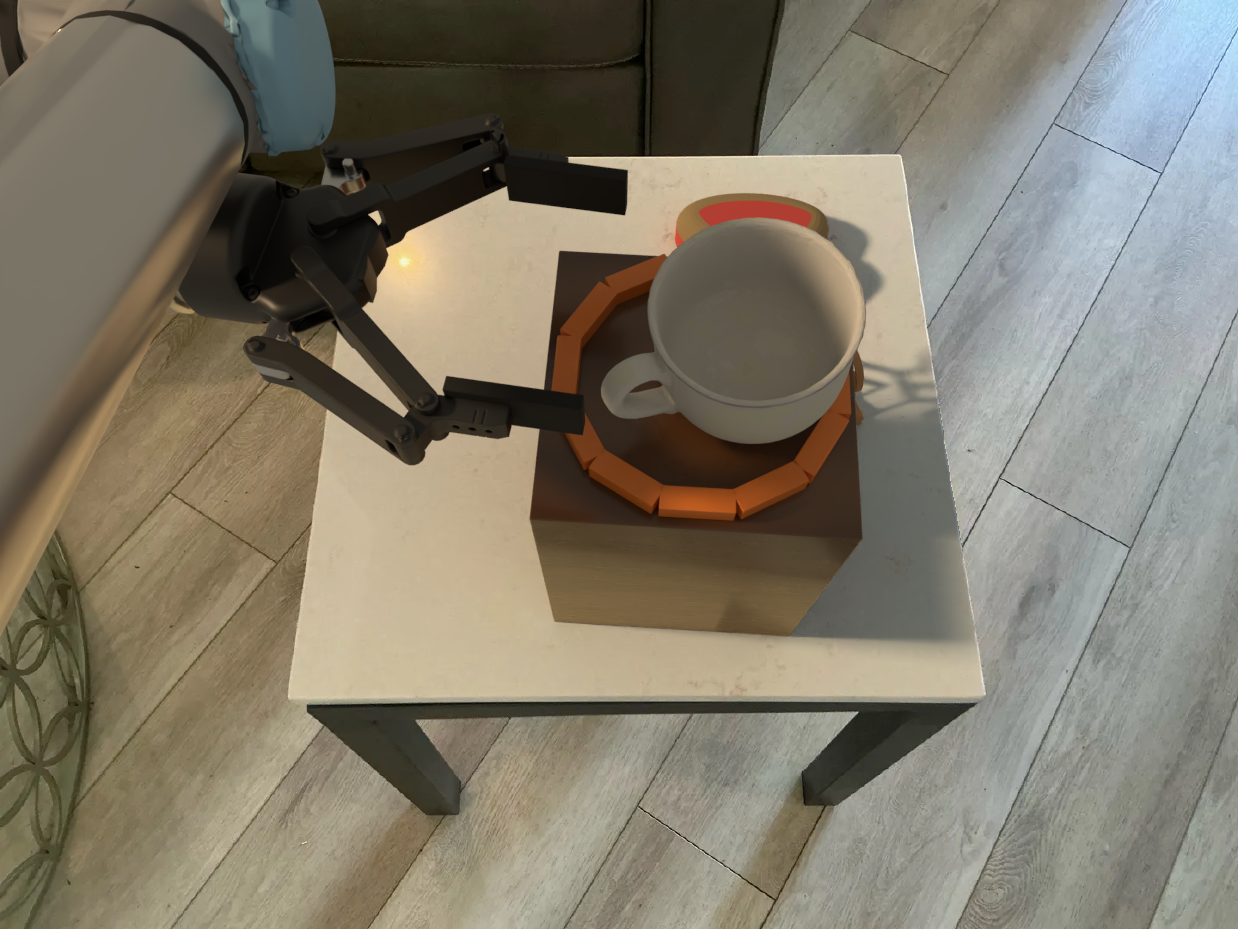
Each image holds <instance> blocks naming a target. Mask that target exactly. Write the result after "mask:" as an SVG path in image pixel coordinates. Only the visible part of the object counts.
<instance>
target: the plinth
mask: <svg viewBox="0 0 1238 929" xmlns="http://www.w3.org/2000/svg"><path fill="white" fill-rule="evenodd" d="M657 256H658V255H646V254H629V253H612V252H611V253H610V252H609V253H608V252H595V251H594V252H593V251H591V252H590V251H576V250H575V251H574V250H559V251H558V256H557V257H558V258H557V266H556V267H557V268H556V276H555V283H554V293H553V294H554V295H553V302H552V303H553V304H552V311H551V320H550V321H551V322H550V330H549V338H548V346H547V348H548V349H547V358H546V366H545V375H544V384H543V385H544V386H543V389H544V390H551V391H552V383H553V373H554V364H555V355H556V345H557V337H558V335H561V332H560V329H561V328H562V327H563V325H564V324H565V323H566V322H567V320H568V319H569V318H570V317H571V316H572V314H573V313H574V312H575V311H576V309H577V308H578V307H579V306H580V304H581V303H582V302H583V301H584V300H585V298H586V297H587V296H588V295H589V293H590V292H591V291H592V290H593V289H594V287H595V286H596V285H597V284H598V282H601V283H603V284H605V277H608V276H610V275H613V274H615V273H618V272H620V271H622V270H625V269H627V268H630V267H632V266H635V265H637V264H640V263H642V262H645V261H647V260H650V259H652V258H655V257H657ZM666 256H667V255H666ZM668 256H669V255H668ZM668 256H667V257H668ZM649 293H650V291H649V292H647V293H644V294H642V295H639V296H637V297H635V298H632V299H630V300H627V301H625V302H622V303H620V304H618V305H616V307H615V308H614V309H613V310H612V312H611V313H610V314H609V315H608V317H607V318H606V319H605V320H604V322H603V323H602V324H601V326H600V327H599V328H598V329H597V331H596V332H595V333H594V334H593V336H592V337H591V338H590V339H589V341H588V342H587V343H586V344H585V346H584V347H583V348H582V353H581V364H580V374H579V385H578V394H579V395H584V409H585V413H586V415H587V417H588V419H589V421H590V423H591V425H592V426H593V428H594V430H595V432H596V434H597V436H598V437H599V439H600V441H601V443H602V445H603V447H604V448H605V450H606V451H608V452H610V453H611V454H613V455H615V456H616V457H618V458H620V459H621V460H623V461H625V462H626V463H628V464H630V465H631V466H633V467H635V468H636V469H638V470H640V471H641V472H643V473H645V474H646V475H648V476H649V477H651V478H653V479H654V480H656V481H658V482H659V483H661V484H663V485H671V486H688V487H705V488H722V489H735V488H737V487H739V486H741V485H743V484H745V483H747V482H749V481H752V480H754V479H756V478H758V477H760V476H762V475H764V474H766V473H769V472H771V471H773V470H775V469H777V468H779V467H781V466H784V465H786V464H788V463H790V462H792V461H794V459H795V458H796V456H797V454H798V453H799V451H800V450H801V448H802V447H803V445H804V444H805V442H806V440H807V439H808V437H809V436H810V434H811V433H812V431H813V430H814V428H815V426H816V425H817V423H818V422H819V420H820V419H821V418H819V419H818V420H817V421H816V422H815V423H813V424H812V425H811V426H809V427H808V428H806V429H805V430H803V431H801V432H799V433H798V434H795V435H793V436H791V437H788V438H785V439H782V440H779V441H775V442H770V443H762V444H744V443H736V442H731V441H727V440H723V439H720V438H717V437H714V436H712V435H710V434H708V433H706V432H704V431H703V430H701V429H700V428H698V427H697V426H695V425H694V424H692V423H691V422H690V421H689V420H688V419H687V418H686V417H685V416H684V415H683V414H682V413H681V412H677V413H674V414H666V413H662V414H658V415H653V416H649V417H643V418H638V419H626V418H620V417H618V416H616V415H614V414H613V413H612V412H611V411H610V410H609V409H608V407H607V406H606V405H605V403H604V401H603V399H602V396H601V387H602V383H603V380H604V379H605V377H606V375H607V374H608V372H609V371H610V370H611V369H612V368H613V367H615V366H616V365H617V364H619V363H620V362H622V361H623V360H625V359H628V358H630V357H632V356H635V355H639V354H644V353H652V352H655V349H654V343H653V340H652V337H651V333H650V329H649V324H648V315H647V305H648V298H649ZM854 371H855V369H854V365H853V361H852V364H851V367H850V370H849V381H850V400H851V415H850V417H849V422H848V424H847V426H846V428H845V430H844V431H843V433H842V435H841V436H840V438H839V439H838V441H837V443H836V444H835V446H834V447H833V449H832V451H831V452H830V454H829V455H828V457H827V459H826V460H825V462H824V463H823V465H822V467H821V468H820V470H819V472H818V473H817V475H816V476H815V478H814V480H813V481H812V483H811V484H809V483H808V484H807V486H806V488H805V489H804V490H802V491H800V492H798V493H795V494H793V495H791V496H789V497H787V498H785V499H783V500H781V501H779V502H777V503H775V504H772V505H770V506H768V507H766V508H764V509H762V510H760V511H758V512H756V513H754V514H752V515H749V516H747V517H745V518H743V519H740V518H739V516H738V514H737V512H736V515H735V518H734V520H733V521H728V520H712V519H695V518H678V517H662V516H658V507H659V504H658V505H657V507H656V508H655V510H654V511H653V512H652V514H650V513H648V512H647V511H645V510H643V509H642V508H640V507H639V506H637V505H635V504H634V503H632V502H630V501H629V500H627V499H626V498H624V497H622V496H621V495H619V494H618V493H616V492H614V491H613V490H611V489H609V488H608V487H606V486H605V485H603V484H601V483H600V482H598V481H596V480H595V479H593V478H592V477H590V476H589V469H587V470H584V469H583V468H582V466H581V464H580V462H579V460H578V458H577V456H576V454H575V452H574V450H573V449H572V447H571V445H570V443H569V441H568V439H567V437H566V435H565V433H563V432H556V431H549V430H542V429H538V438H537V447H536V455H535V465H534V472H533V473H534V474H533V482H532V483H533V484H532V492H531V501H530V508H529V521H530V527H531V531H532V535H533V539H534V540H533V541H534V543H535V547H536V552H537V556H538V560H539V565H540V568H541V572H542V576H543V581H544V585H545V590H546V593H547V597H548V601H549V605H550V610H551V614H552V619H553V622H557V623H571V624H573V623H574V624H590V625H591V624H592V625H604V626H605V625H606V626H620V627H621V626H622V627H637V628H650V629H651V628H652V629H669V630H685V631H700V632H716V633H729V634H730V633H732V634H747V635H749V634H750V635H762V636H763V635H764V636H777V637H778V636H781V637H789V636H790V635H791V634H792V633H793V631H795V629H796V627H797V626H798V625H799V623H800V622H801V621H802V619H803V618H804V617H805V616H806V614H807V613H808V612H809V611H810V609H811V608H812V606H814V604H815V603H816V601H817V600H818V598H819V597H820V596H821V595H822V593H823V592H824V591H825V589H826V588H827V587H828V585H829V584H830V583H831V582H832V580H833V579H834V578H835V577H836V575H837V574H838V572H839V571H840V570H841V568H842V567H843V565H845V563H846V562H847V561H848V559H849V558H850V556H851V555H852V554H853V553H854V552H855V550H856V549H857V547H858V546H859V545H860V543H861V542H862V541H863V539H864V538H863V537H864V536H863V517H862V502H861V501H862V500H861V498H862V497H861V483H860V481H861V480H860V463H859V445H858V443H859V442H858V428H857V427H858V425H856V406H855V401H856V392H855V388H854ZM661 386H662V384H661V383H660V382H659V381H656V380H650V381H648V382H645V383H643V384H640V385H638V386H637V387H635V388H633V389H632V390H631V391H630V392H629V393H635V392H641V391H645V390H649V389H654V388H658V387H661Z"/></svg>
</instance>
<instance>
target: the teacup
mask: <svg viewBox="0 0 1238 929" xmlns="http://www.w3.org/2000/svg"><path fill="white" fill-rule="evenodd" d="M647 315H648V324H649V329H650V333H651V337H652V340H653V343H654V349H655V352H652V353H644V354H639V355H635V356H632V357H630V358H628V359H625V360H623V361H622V362H620V363H619V364H617V365H616V366H615V367H613V368H612V369H611V370H610V371H609V372H608V374H607V375H606V377H605V379H604V380H603V383H602V387H601V396H602V399H603V401H604V403H605V405H606V406H607V407H608V409H609V410H610V411H611V412H612V413H613V414H614V415H616V416H618V417H620V418H626V419H638V418H643V417H649V416H653V415H658V414H662V413H666V414H674V413H677V412H681V413H682V414H683V415H684V416H685V417H686V418H687V419H688V420H689V421H690V422H691V423H692V424H694V425H695V426H697V427H698V428H700V429H701V430H703V431H704V432H706V433H708V434H710V435H712V436H714V437H717V438H720V439H723V440H727V441H731V442H736V443H744V444H762V443H770V442H775V441H779V440H782V439H785V438H788V437H791V436H793V435H795V434H798V433H799V432H801V431H803V430H805V429H806V428H808V427H809V426H811V425H812V424H813V423H815V422H816V421H817V420H818V419H819V418H821V417H822V416H823V415H824V414H825V413H826V411H827V410H828V409H829V408H830V407H831V405H832V404H833V403H834V401H835V400H836V398H837V396H838V395H839V393H840V391H841V389H842V387H843V385H844V383H845V380H846V378H847V375H848V373H849V370H850V367H851V364H852V361H853V357H854V355H855V353H856V351H857V350H858V349H859V347H860V344H861V342H862V339H863V338H864V335H863V333H865V329H866V324H867V304H866V298H865V294H864V290H863V285H862V283H861V281H860V278H859V276H858V274H857V271H856V269H855V267H854V265H853V264H852V262H851V261H850V260H849V259H848V258H847V257H846V256H845V254H844V253H843V252H842V251H841V250H840V248H838V247H837V246H836V245H835V244H834V243H833V242H832V241H830V240H828V238H827V239H826V238H824V237H823V236H821V235H820V234H818V233H817V232H815V231H813V230H811V229H808V228H806V227H803V226H801V225H798V224H796V223H792V222H789V221H783V220H779V219H770V218H758V217H757V218H743V219H735V220H730V221H725V222H722V223H720V224H716V225H713V226H710V227H708V228H705V229H703V230H701V231H700V232H699V233H696V234H694V235H692V236H691V238H689V239H687V240H686V241H685V242H684V243H682V244H680V245H679V246H678V247H677V246H676V248H674V250H672V252H670V254H668V257H667V258H666V259H665V261H664V262H663V264H662V265H661V267H660V269H659V271H658V273H657V274H656V276H655V278H654V280H653V283H652V286H651V289H650V293H649V298H648V305H647ZM862 337H863V338H862ZM858 351H859V350H858ZM650 380H656V381H659V382H660V383H661V384H662V386H661V387H658V388H654V389H649V390H645V391H641V392H635V393H629V392H630V391H631V390H632V389H633V388H635V387H637V386H638V385H640V384H643V383H645V382H648V381H650Z"/></svg>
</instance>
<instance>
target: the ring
mask: <svg viewBox="0 0 1238 929" xmlns="http://www.w3.org/2000/svg"><path fill="white" fill-rule="evenodd" d="M656 256H657V257H655V258H652V259H650V260H647V261H645V262H642V263H640V264H637V265H635V266H632V267H630V268H627V269H625V270H622V271H620V272H618V273H615V274H613V275H610V276H608V277H605V284H603V283H601V282H598V284H597V285H596V286H595V287H594V289H593V290H592V291H591V292H590V293H589V295H588V296H587V297H586V298H585V300H584V301H583V302H582V303H581V304H580V306H579V307H578V308H577V309H576V311H575V312H574V313H573V314H572V316H571V317H570V318H569V319H568V320H567V322H566V323H565V324H564V325H563V327H562V328H561V329H560V332H561V335H558V337H557V345H556V355H555V364H554V373H553V383H552V391H558V392H565V393H572V394H578V385H579V374H580V364H581V353H582V348H583V347H584V346H585V344H586V343H587V342H588V341H589V339H590V338H591V337H592V336H593V334H594V333H595V332H596V331H597V329H598V328H599V327H600V326H601V324H602V323H603V322H604V320H605V319H606V318H607V317H608V315H609V314H610V313H611V312H612V310H613V309H614V308H615V307H616V305H618V304H620V303H622V302H625V301H627V300H630V299H632V298H635V297H637V296H639V295H642V294H644V293H647V292H649V291H650V289H651V286H652V283H653V280H654V278H655V276H656V274H657V273H658V271H659V269H660V267H661V265H662V264H663V262H664V261H665V259H666V258H667V254H666V253H662V254H659V255H656ZM850 415H851V400H850V381H849V373H848V375H847V378H846V380H845V383H844V385H843V387H842V389H841V391H840V393H839V395H838V396H837V398H836V400H835V401H834V403H833V404H832V405H831V407H830V408H829V409H828V410H827V411H826V413H825V414H824V415H823V416H822V417H821V419H820V420H819V422H818V423H817V425H816V426H815V428H814V430H813V431H812V433H811V434H810V436H809V437H808V439H807V440H806V442H805V444H804V445H803V447H802V448H801V450H800V451H799V453H798V454H797V456H796V458H795V459H794V461H792V462H790V463H788V464H786V465H784V466H781V467H779V468H777V469H775V470H773V471H771V472H769V473H766V474H764V475H762V476H760V477H758V478H756V479H754V480H752V481H749V482H747V483H745V484H743V485H741V486H739V487H737V488H735V489H722V488H705V487H688V486H671V485H663V484H661V483H659V482H658V481H656V480H654V479H653V478H651V477H649V476H648V475H646V474H645V473H643V472H641V471H640V470H638V469H636V468H635V467H633V466H631V465H630V464H628V463H626V462H625V461H623V460H621V459H620V458H618V457H616V456H615V455H613V454H611V453H610V452H608V451H606V450H605V448H604V447H603V445H602V443H601V441H600V439H599V437H598V436H597V434H596V432H595V430H594V428H593V426H592V425H591V423H590V421H589V419H588V417H587V415H586V413H585V426H584V431H583V435H576V434H570V433H565V435H566V437H567V439H568V441H569V443H570V445H571V447H572V449H573V450H574V452H575V454H576V456H577V458H578V460H579V462H580V464H581V466H582V468H583V469H584V470H587V469H589V476H590V477H592V478H593V479H595V480H596V481H598V482H600V483H601V484H603V485H605V486H606V487H608V488H609V489H611V490H613V491H614V492H616V493H618V494H619V495H621V496H622V497H624V498H626V499H627V500H629V501H630V502H632V503H634V504H635V505H637V506H639V507H640V508H642V509H643V510H645V511H647V512H648V513H650V514H652V512H653V511H654V510H655V508H656V507H657V505H658V504H659V507H658V516H662V517H678V518H695V519H712V520H728V521H733V520H734V518H735V515H736V512H737V514H738V516H739V518H740V519H743V518H745V517H747V516H749V515H752V514H754V513H756V512H758V511H760V510H762V509H764V508H766V507H768V506H770V505H772V504H775V503H777V502H779V501H781V500H783V499H785V498H787V497H789V496H791V495H793V494H795V493H798V492H800V491H802V490H804V489H805V488H806V486H807V484H808V483H809V484H811V483H812V481H813V480H814V478H815V476H816V475H817V473H818V472H819V470H820V468H821V467H822V465H823V463H824V462H825V460H826V459H827V457H828V455H829V454H830V452H831V451H832V449H833V447H834V446H835V444H836V443H837V441H838V439H839V438H840V436H841V435H842V433H843V431H844V430H845V428H846V426H847V424H848V422H849V417H850Z"/></svg>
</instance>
